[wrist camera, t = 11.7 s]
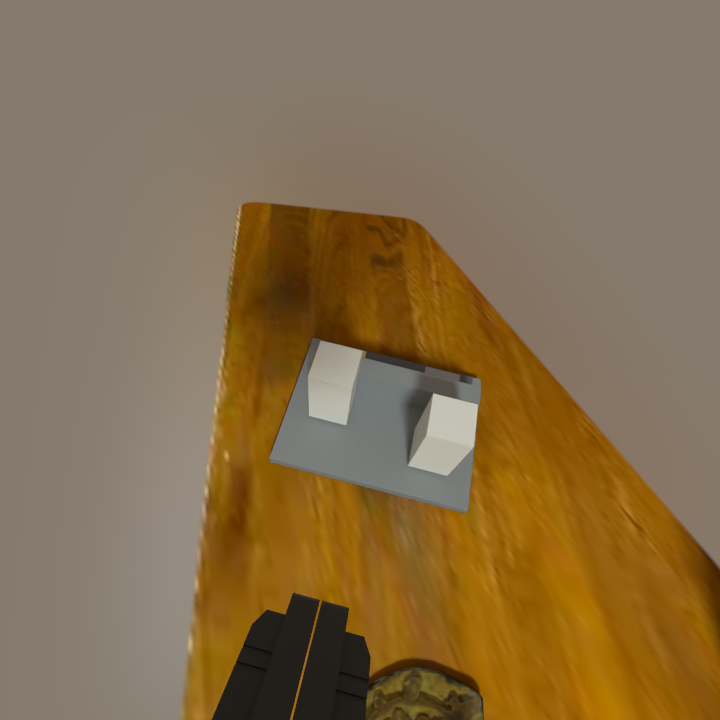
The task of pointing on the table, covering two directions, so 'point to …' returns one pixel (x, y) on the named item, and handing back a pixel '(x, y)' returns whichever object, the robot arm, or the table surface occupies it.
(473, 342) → the table surface
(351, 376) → the tall white pillar block
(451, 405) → the white rectangular block
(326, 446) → the plate
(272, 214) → the table surface
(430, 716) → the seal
